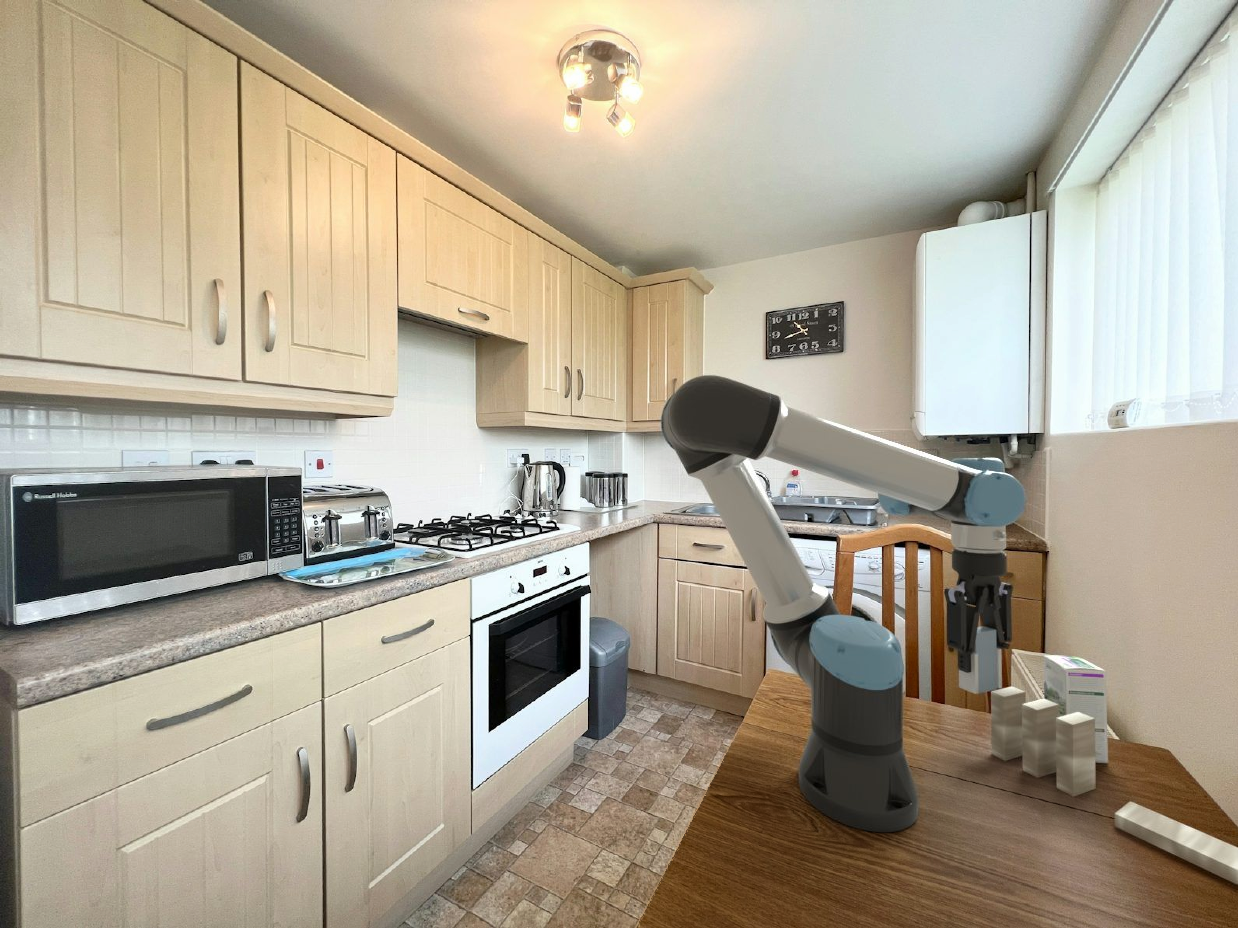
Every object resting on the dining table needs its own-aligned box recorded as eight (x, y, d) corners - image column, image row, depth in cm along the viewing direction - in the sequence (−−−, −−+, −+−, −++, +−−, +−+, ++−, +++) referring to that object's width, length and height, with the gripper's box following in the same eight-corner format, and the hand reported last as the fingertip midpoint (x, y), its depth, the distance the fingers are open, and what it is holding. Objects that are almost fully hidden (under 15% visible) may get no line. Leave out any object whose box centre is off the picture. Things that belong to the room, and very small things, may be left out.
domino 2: (991, 753, 79) (990, 691, 79) (1012, 747, 81) (1011, 686, 81) (1004, 760, 77) (1004, 696, 77) (1026, 754, 79) (1025, 691, 79)
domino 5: (1114, 813, 63) (1237, 869, 55) (1130, 801, 66) (1250, 852, 57) (1114, 829, 63) (1237, 887, 54) (1130, 816, 66) (1250, 870, 57)
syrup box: (1110, 764, 76) (1109, 670, 76) (1065, 759, 77) (1065, 667, 78) (1083, 743, 82) (1082, 656, 82) (1042, 739, 83) (1041, 653, 83)
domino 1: (964, 688, 84) (963, 629, 84) (984, 684, 85) (984, 625, 85) (976, 693, 82) (975, 633, 82) (996, 688, 83) (996, 629, 83)
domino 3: (1022, 770, 75) (1022, 703, 75) (1044, 763, 77) (1043, 698, 77) (1037, 777, 73) (1037, 709, 73) (1059, 770, 75) (1058, 704, 75)
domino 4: (1056, 787, 71) (1056, 717, 71) (1078, 780, 73) (1078, 711, 73) (1073, 796, 69) (1072, 724, 69) (1095, 788, 71) (1094, 718, 71)
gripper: (962, 557, 77) (965, 707, 77) (1038, 548, 83) (1040, 687, 83) (918, 549, 84) (920, 686, 84) (991, 542, 90) (993, 670, 90)
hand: (980, 687), depth 83 cm, fingers closed on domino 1, 5 cm apart
